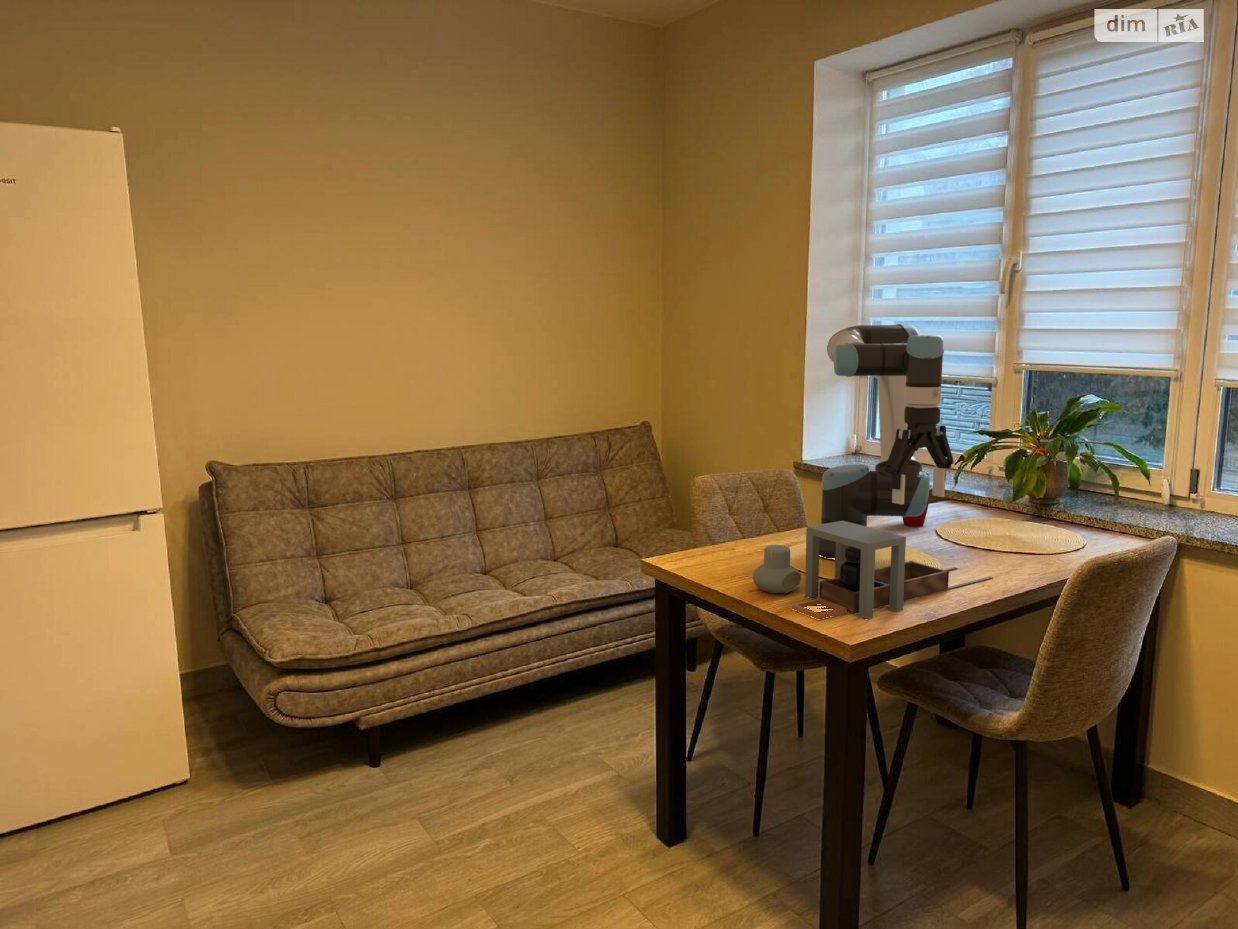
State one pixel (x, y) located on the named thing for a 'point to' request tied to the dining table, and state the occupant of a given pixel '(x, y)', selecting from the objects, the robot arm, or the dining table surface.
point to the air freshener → (776, 571)
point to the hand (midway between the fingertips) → (918, 499)
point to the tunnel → (862, 562)
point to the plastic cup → (917, 520)
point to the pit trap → (819, 615)
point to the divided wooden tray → (888, 585)
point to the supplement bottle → (850, 570)
